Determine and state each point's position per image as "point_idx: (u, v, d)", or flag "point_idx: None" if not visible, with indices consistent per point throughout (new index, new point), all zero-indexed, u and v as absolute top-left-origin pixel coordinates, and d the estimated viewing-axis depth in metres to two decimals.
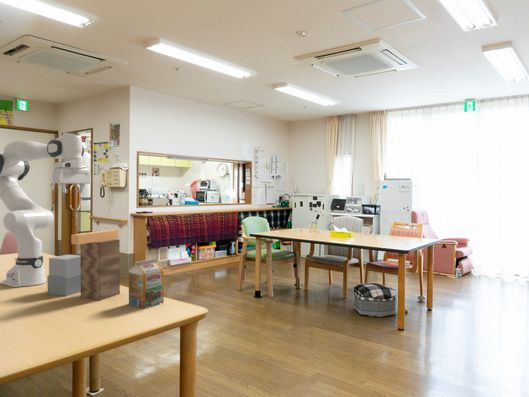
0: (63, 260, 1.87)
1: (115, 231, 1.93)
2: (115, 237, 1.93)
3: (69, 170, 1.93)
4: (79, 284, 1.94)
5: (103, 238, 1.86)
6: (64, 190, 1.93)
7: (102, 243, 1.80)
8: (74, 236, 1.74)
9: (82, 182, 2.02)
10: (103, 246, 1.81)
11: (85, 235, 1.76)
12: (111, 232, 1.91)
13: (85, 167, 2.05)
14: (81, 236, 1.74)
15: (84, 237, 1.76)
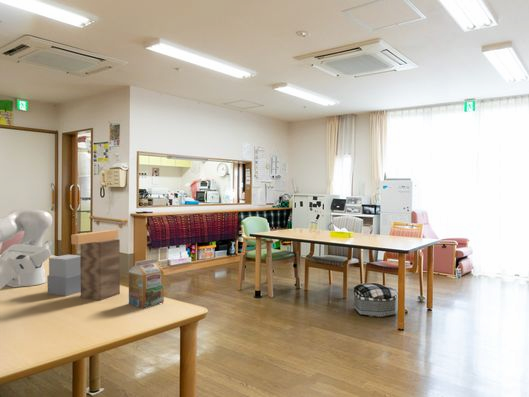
0: (63, 260, 1.87)
1: (115, 231, 1.93)
2: (115, 237, 1.93)
3: (24, 254, 1.50)
4: (79, 284, 1.94)
5: (103, 238, 1.86)
6: (48, 243, 1.58)
7: (102, 243, 1.80)
8: (74, 236, 1.74)
9: (22, 245, 1.58)
10: (103, 246, 1.81)
11: (85, 235, 1.76)
12: (111, 232, 1.91)
13: None
14: (81, 236, 1.74)
15: (84, 237, 1.76)
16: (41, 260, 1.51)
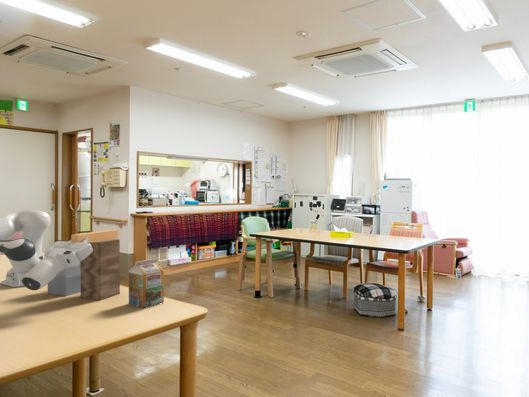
0: None
1: (115, 231, 1.93)
2: (115, 237, 1.93)
3: (69, 250, 1.66)
4: (79, 284, 1.94)
5: (103, 238, 1.86)
6: (86, 240, 1.75)
7: (102, 243, 1.80)
8: (74, 236, 1.74)
9: (65, 242, 1.74)
10: (103, 246, 1.81)
11: (85, 235, 1.76)
12: (111, 232, 1.91)
13: (47, 255, 1.70)
14: (81, 236, 1.74)
15: (84, 237, 1.76)
16: (85, 255, 1.67)
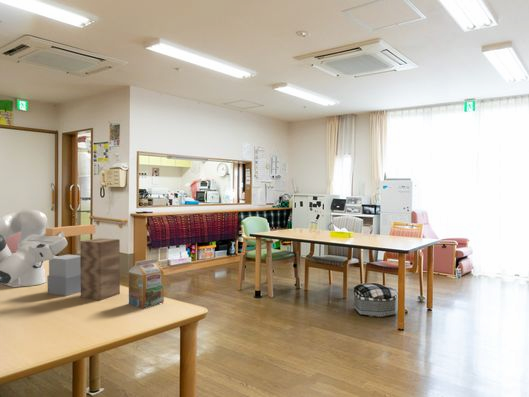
0: (63, 260, 1.87)
1: (92, 226, 1.90)
2: (92, 232, 1.90)
3: None
4: (79, 284, 1.94)
5: (79, 232, 1.83)
6: (61, 234, 1.72)
7: (102, 243, 1.80)
8: (49, 229, 1.70)
9: (39, 235, 1.71)
10: (103, 246, 1.81)
11: (60, 229, 1.73)
12: (88, 227, 1.88)
13: None
14: (56, 230, 1.71)
15: (59, 230, 1.72)
16: (59, 249, 1.64)
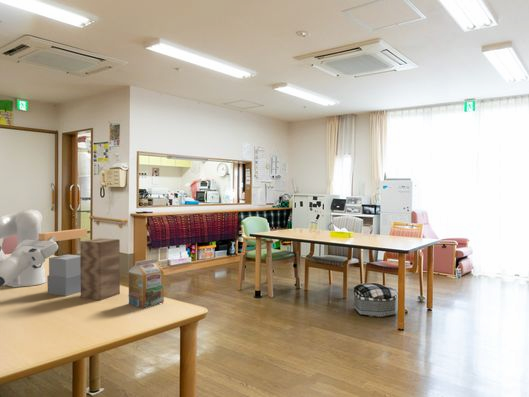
0: (63, 260, 1.87)
1: (84, 230, 2.00)
2: (84, 236, 2.00)
3: (35, 248, 1.73)
4: (79, 284, 1.94)
5: (71, 237, 1.93)
6: (53, 238, 1.82)
7: (102, 243, 1.80)
8: (41, 235, 1.81)
9: (32, 240, 1.81)
10: (103, 246, 1.81)
11: (52, 234, 1.84)
12: (80, 231, 1.98)
13: None
14: (48, 235, 1.82)
15: (51, 235, 1.83)
16: (50, 253, 1.74)
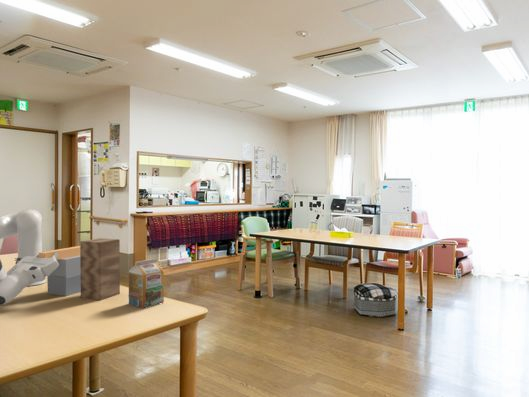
0: (63, 260, 1.87)
1: None
2: None
3: (35, 265, 1.74)
4: (79, 284, 1.94)
5: (71, 254, 1.94)
6: (55, 255, 1.82)
7: (102, 243, 1.80)
8: (41, 254, 1.81)
9: (33, 257, 1.82)
10: (103, 246, 1.81)
11: (52, 252, 1.84)
12: None
13: None
14: (48, 254, 1.82)
15: (51, 254, 1.84)
16: (50, 270, 1.75)
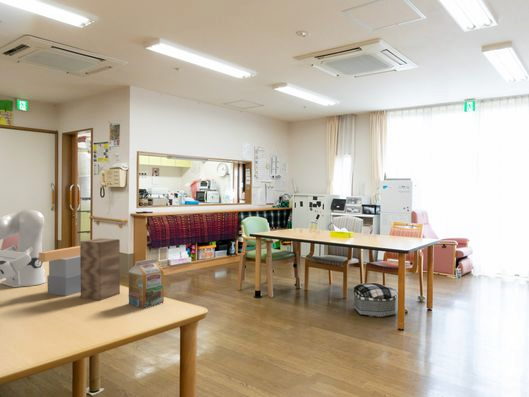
0: (63, 260, 1.87)
1: None
2: None
3: (5, 259, 1.57)
4: (79, 284, 1.94)
5: (71, 254, 1.94)
6: (29, 249, 1.65)
7: (102, 243, 1.80)
8: (41, 254, 1.81)
9: (4, 250, 1.65)
10: (103, 246, 1.81)
11: (52, 252, 1.84)
12: None
13: None
14: (48, 254, 1.82)
15: (51, 254, 1.84)
16: (21, 266, 1.58)
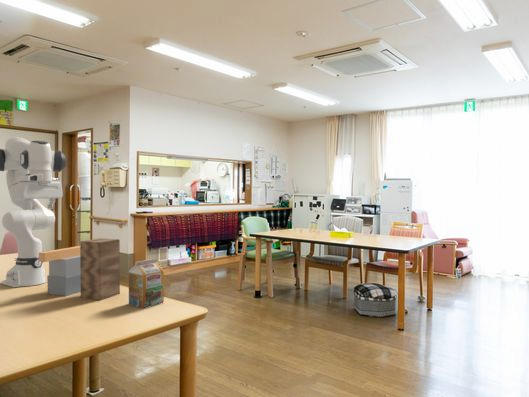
0: (63, 260, 1.87)
1: None
2: None
3: (36, 184, 1.71)
4: (79, 284, 1.94)
5: (71, 254, 1.94)
6: (30, 206, 1.71)
7: (102, 243, 1.80)
8: (41, 254, 1.81)
9: (52, 197, 1.79)
10: (103, 246, 1.81)
11: (52, 252, 1.84)
12: None
13: (56, 180, 1.83)
14: (48, 254, 1.82)
15: (51, 254, 1.84)
16: (18, 187, 1.67)
